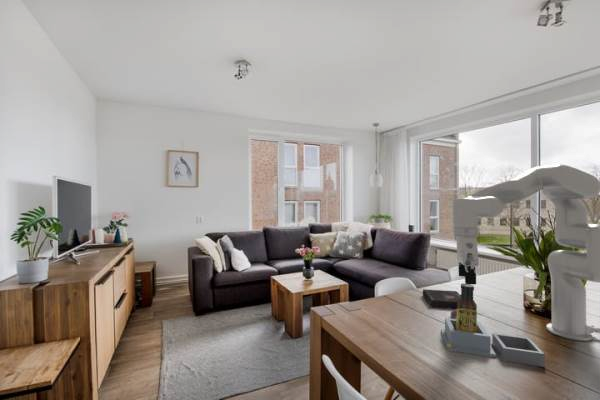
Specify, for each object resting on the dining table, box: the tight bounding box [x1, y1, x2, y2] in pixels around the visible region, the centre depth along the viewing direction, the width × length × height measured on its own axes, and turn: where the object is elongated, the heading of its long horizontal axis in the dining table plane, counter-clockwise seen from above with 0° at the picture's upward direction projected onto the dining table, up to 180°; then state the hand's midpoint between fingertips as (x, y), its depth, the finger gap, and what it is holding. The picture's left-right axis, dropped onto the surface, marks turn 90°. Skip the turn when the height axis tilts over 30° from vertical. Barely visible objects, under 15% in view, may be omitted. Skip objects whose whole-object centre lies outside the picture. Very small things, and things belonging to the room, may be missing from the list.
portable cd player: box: [422, 288, 461, 310], centre depth 138 cm, size 16×17×4 cm
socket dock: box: [440, 317, 497, 358], centre depth 98 cm, size 14×14×6 cm
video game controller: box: [450, 309, 457, 318], centre depth 116 cm, size 10×5×7 cm, turn 170°
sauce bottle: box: [455, 283, 478, 333], centre depth 98 cm, size 6×6×20 cm
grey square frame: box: [491, 332, 546, 368], centre depth 91 cm, size 11×11×4 cm
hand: (467, 279), depth 98 cm, fingers open, 9 cm apart
